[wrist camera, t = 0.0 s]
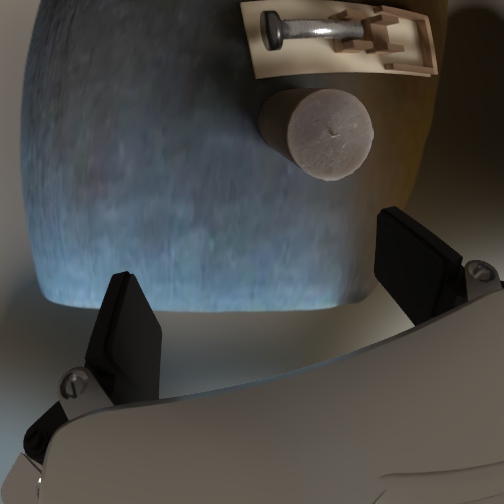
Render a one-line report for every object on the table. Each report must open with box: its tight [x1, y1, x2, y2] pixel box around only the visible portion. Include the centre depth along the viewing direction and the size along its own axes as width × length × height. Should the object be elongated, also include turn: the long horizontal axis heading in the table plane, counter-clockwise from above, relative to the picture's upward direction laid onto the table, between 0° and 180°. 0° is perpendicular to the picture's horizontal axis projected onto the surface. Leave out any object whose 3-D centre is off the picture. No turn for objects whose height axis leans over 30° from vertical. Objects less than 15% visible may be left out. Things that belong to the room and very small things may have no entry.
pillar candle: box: [258, 88, 374, 181], centre depth 31 cm, size 10×10×15 cm
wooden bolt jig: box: [240, 0, 438, 79], centre depth 28 cm, size 12×31×6 cm, turn 100°
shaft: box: [260, 10, 364, 51], centre depth 26 cm, size 6×13×6 cm, turn 100°
